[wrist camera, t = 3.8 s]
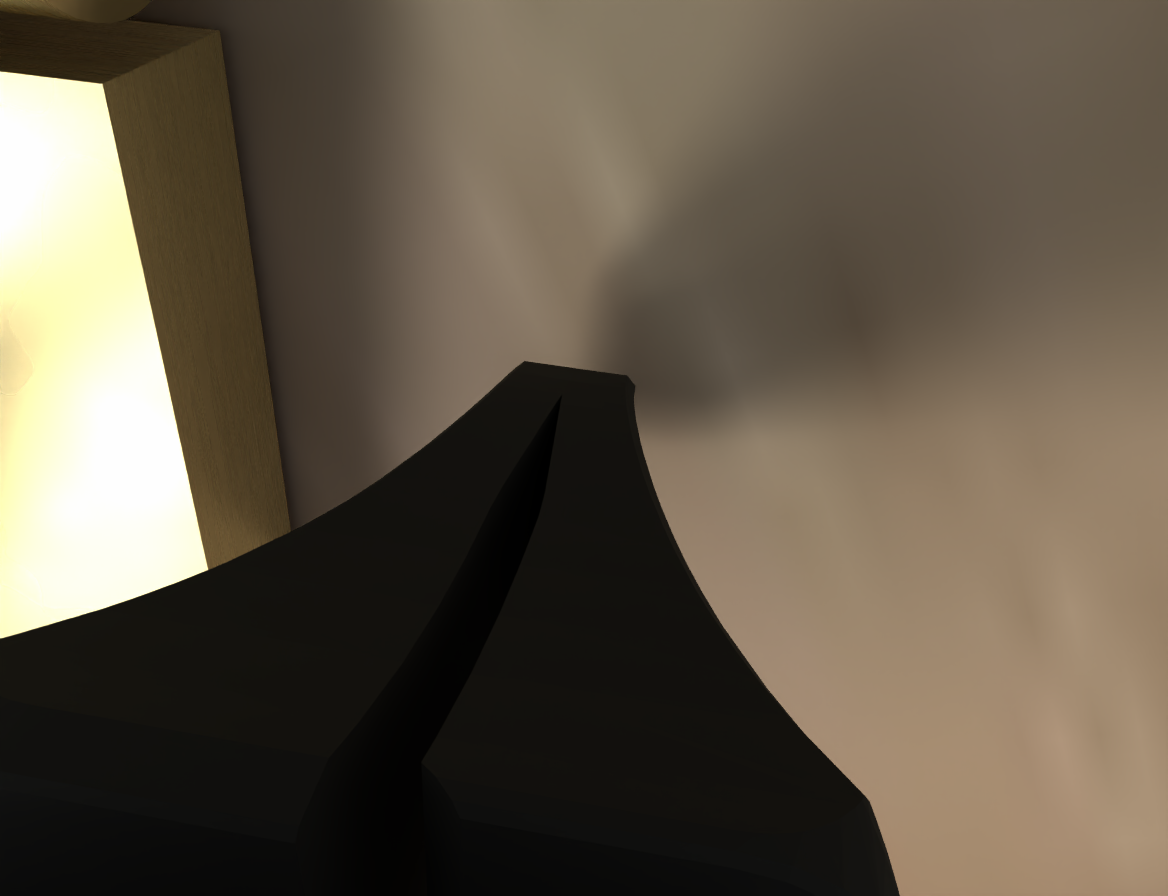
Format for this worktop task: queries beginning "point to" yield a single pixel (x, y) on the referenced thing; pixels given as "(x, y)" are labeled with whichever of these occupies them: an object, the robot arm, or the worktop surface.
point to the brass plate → (123, 315)
